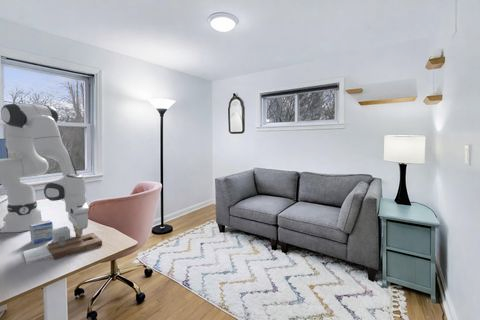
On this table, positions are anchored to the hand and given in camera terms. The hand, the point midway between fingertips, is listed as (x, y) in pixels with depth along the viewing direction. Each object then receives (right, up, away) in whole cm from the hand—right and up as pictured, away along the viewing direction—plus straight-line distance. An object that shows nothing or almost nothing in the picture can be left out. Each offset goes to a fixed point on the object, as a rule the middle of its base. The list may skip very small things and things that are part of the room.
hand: (78, 233), depth 121 cm
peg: (0, -2, 0) cm, 2 cm away
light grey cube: (-5, -3, -5) cm, 7 cm away
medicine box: (-15, -3, -3) cm, 16 cm away
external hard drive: (-6, -5, -18) cm, 19 cm away
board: (+6, -3, -11) cm, 13 cm away
